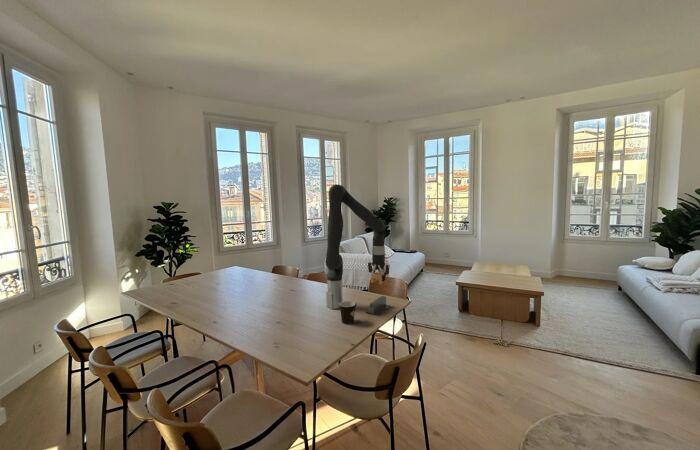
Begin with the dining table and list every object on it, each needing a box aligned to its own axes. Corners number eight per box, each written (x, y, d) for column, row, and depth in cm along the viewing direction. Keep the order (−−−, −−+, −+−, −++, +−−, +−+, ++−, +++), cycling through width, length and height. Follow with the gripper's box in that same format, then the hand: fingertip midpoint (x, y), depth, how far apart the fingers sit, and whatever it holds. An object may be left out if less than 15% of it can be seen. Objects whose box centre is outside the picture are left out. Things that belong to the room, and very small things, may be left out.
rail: (379, 315, 173) (378, 305, 173) (365, 312, 178) (365, 302, 177) (390, 306, 187) (390, 297, 186) (377, 304, 191) (377, 295, 191)
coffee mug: (344, 326, 160) (343, 307, 159) (337, 320, 168) (336, 303, 167) (363, 321, 165) (363, 303, 164) (355, 316, 173) (355, 299, 172)
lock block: (377, 279, 187) (377, 271, 187) (386, 281, 184) (386, 273, 183) (371, 282, 182) (371, 274, 181) (380, 284, 178) (380, 275, 178)
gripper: (364, 252, 182) (365, 280, 184) (386, 255, 174) (386, 284, 175) (371, 251, 188) (371, 277, 190) (392, 253, 180) (392, 280, 181)
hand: (378, 280), depth 183 cm, fingers closed on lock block, 6 cm apart
